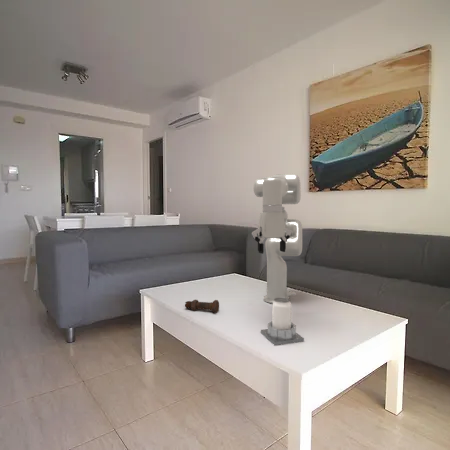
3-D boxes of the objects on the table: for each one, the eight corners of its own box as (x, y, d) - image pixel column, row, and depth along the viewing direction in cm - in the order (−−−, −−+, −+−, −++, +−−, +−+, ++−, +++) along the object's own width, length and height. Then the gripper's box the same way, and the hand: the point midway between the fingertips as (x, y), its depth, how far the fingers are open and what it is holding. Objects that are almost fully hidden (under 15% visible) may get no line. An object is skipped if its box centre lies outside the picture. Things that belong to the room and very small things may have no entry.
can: (268, 332, 107) (268, 299, 107) (281, 328, 111) (281, 296, 111) (281, 339, 102) (282, 303, 102) (294, 334, 106) (295, 300, 105)
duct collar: (287, 329, 113) (287, 318, 113) (303, 341, 103) (304, 329, 103) (260, 332, 110) (260, 321, 110) (274, 345, 100) (274, 333, 99)
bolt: (186, 312, 137) (218, 314, 133) (182, 309, 133) (214, 312, 128) (189, 299, 140) (220, 301, 135) (184, 296, 136) (216, 298, 131)
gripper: (286, 209, 127) (285, 249, 128) (248, 209, 121) (248, 252, 122) (296, 209, 120) (295, 252, 121) (256, 210, 114) (256, 255, 115)
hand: (271, 252), depth 122 cm, fingers open, 9 cm apart
